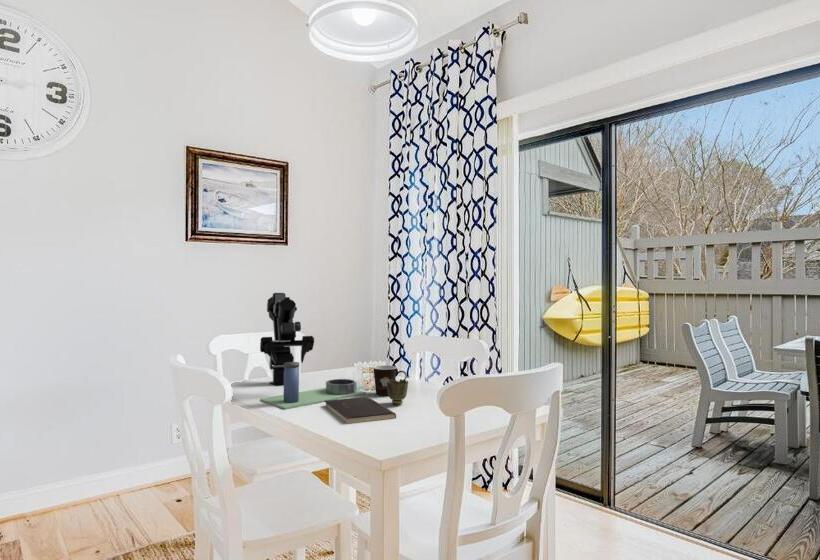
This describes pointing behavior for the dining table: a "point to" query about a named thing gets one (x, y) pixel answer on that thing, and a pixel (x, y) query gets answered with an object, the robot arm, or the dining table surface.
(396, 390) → the cup
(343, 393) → the cup
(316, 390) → the putting mat
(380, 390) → the coffee mug
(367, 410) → the hardcover book
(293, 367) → the golf ball sleeve
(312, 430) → the dining table surface
